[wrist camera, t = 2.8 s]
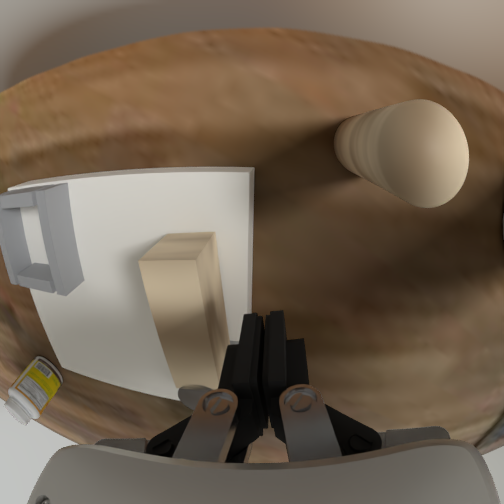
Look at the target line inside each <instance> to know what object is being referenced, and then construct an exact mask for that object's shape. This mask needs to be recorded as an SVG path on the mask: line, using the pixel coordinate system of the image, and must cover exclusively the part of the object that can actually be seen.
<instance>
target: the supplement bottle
mask: <svg viewBox="0 0 504 504" xmlns="http://www.w3.org/2000/svg"><path fill="white" fill-rule="evenodd" d="M62 382H63V379H62V376H61V374H60V372H59V371H58V369H57V368H56V367H55V366H54V365H53V364H52V363H51V362H50V361H49V360H47V359H46V358H44V357H41V356H37V357H35V358H34V359H33V360H32V362H31V363H30V364H29V365H28V366H27V367H26V369H25V370H24V371H23V372H22V373H21V375H20V376H19V377H18V378H17V379H16V381H15V382H14V383H13V384H12V385H11V387H10V388H9V390H8V393H9V396H10V397H9V399H8V400H7V401H6V403H5V404H4V405H5V408H6V409H7V410H8V412H9V413H10V414H11V415H12V416H13V417H14V418H15V419H16V420H17V421H19V422H20V423H21V424H23V425H27V424H28V422H29V421H30V419H31V418H34V419H37V418H39V416H40V415H41V414H42V412H43V411H44V409H45V408H46V406H47V405H48V403H49V402H50V400H51V399H52V397H53V396H54V395H55V393H56V392H57V390H58V389H59V388H60V386H61V385H62Z"/></svg>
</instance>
